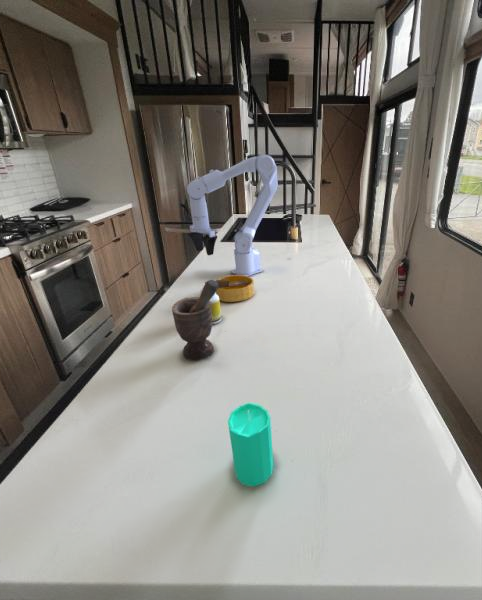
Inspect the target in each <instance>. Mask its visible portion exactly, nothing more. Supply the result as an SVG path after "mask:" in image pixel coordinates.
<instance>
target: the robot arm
mask: <svg viewBox="0 0 482 600" xmlns="http://www.w3.org/2000/svg"><path fill="white" fill-rule="evenodd" d="M208 172H209V173H206V174H204V175H202V176H197V177H196V179H193V180H191V181H190V182H189V183H188V184H187V187H186V192H187V194H188V196H189V199H188V201H189V208H190V214H191V215H190V216H191V221H192V224H191V225H189V231H190V232H188V236H189V237H190V239H191V241H192V242H193V245H194V247H195V250H196V252H201V251H203V250H204V247H205V252H206V255H207V256H212V255H214V251H215V245H216V242H217V239H218V235H216V231H215V230H214V229H212V227H210V219H209V211H208V204H207V202H206V195H205V194H210V193H212V192H215V191H216V190H218V189H221V188H223V187H225V185H226V182H227V181H228V180H231V179H232V178H235V177H237V176H240V175H242V174H244V173H246V172H247V173H248V172H249V173H256V172H257V173H258V175H259V177H260V179H261V182H262V187H261V190H260V192H259V193H258V196H257V197H256V200H255V202H254V203H253V205H252V207H251V210H250V212H249V214H248V216H247V217H246V220H245V222H244V224H243V225H242V226H241V227H240V230H239V231H237V232H236V233H235V235H234V237H233V241H234V249H233V253H234V254H233V256H234V263H235V270H232V271H231V274H233V275H244V276H248V277H251V276H252V275H255V274H258V273H261V272H263V270H262V267H261V254H260V252H259V250H258V249H257V248H255V247H253V240H254V238H255V234H256V231H257V229H258V228H259V225H260V223H261V221H262V220H263V217H264V215H265V213H266V212H267V210H268V208H269V206H270V203H271V202H272V199H273V197H274V196H275V194H276V192H277V190H278V187H279V183H278V181H279V180H278V167H277V164H276V161H275V159H274V158H273V157H272V156H270V155H269V154H265V153H261V154H258V155H257V156H252V157H249V158H246V159H244V160H241V161H240V162H238V163H236V164H234V165H232V166H230V167H228V168H226V169H224V170H222V171H221V170H219V169H215V170H214V169H210V170H209V171H208Z"/></svg>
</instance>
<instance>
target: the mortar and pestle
mask: <svg viewBox="0 0 482 600" xmlns="http://www.w3.org/2000/svg"><path fill="white" fill-rule="evenodd" d="M205 282H206V283H205ZM205 282H204V285H203V287H202V288H203V289H202V288H201V289H202V292H201V291H200V295H199V296H195V297H185V298H182V299H180V300H178V301H176V302H175V303H174V304H173V305H172V307H171V312H172V316H173V317H172V318H173V321H174V325H175V326H174V327H175V329H176V332H177V334H178V335H179V337H180V338H181V340H182V341H184V342H186V344H185V345H184V347H183V349H182V356H183V358H184V359H185V360H187V361H194V362H195V361H196V362H197V361H201V360H205V359H207V358H209V357H211V356H212V355H213V353H214V352H215V348H214V345H213V343H212V342H211V341H210V340H209V339H207V338H209V336H210V335H211V333H212V329H213V324H212V314H211V303H210V301H209V300H210V299H211V298H212V297H213V295H214V294H215V293H216V291H217V288H218V283H217V282H216V280H215V279H209V280H207V281H205Z"/></svg>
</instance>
